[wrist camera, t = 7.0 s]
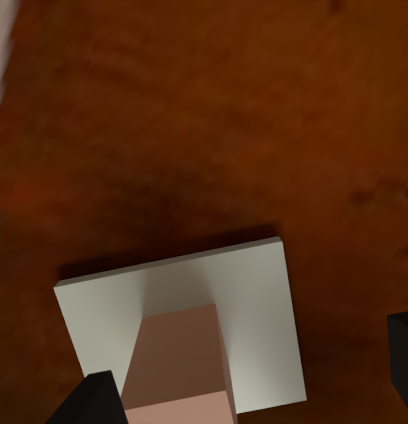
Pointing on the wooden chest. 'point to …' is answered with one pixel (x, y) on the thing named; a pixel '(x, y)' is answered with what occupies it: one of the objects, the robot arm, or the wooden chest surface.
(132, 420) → the block
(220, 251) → the mat
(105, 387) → the robot arm
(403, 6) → the wooden chest surface
